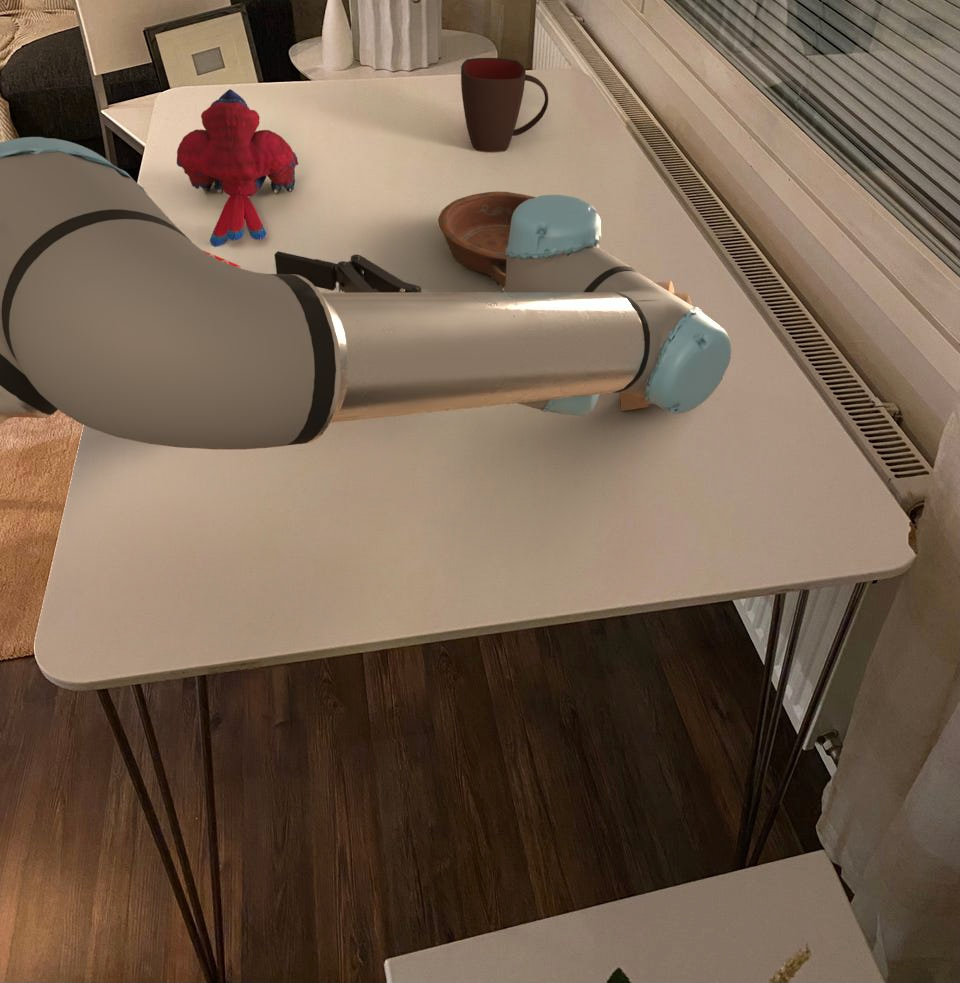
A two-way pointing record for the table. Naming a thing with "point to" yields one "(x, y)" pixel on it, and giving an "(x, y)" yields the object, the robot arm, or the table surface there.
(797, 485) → the table surface
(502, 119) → the cup
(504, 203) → the dish
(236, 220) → the figurine
